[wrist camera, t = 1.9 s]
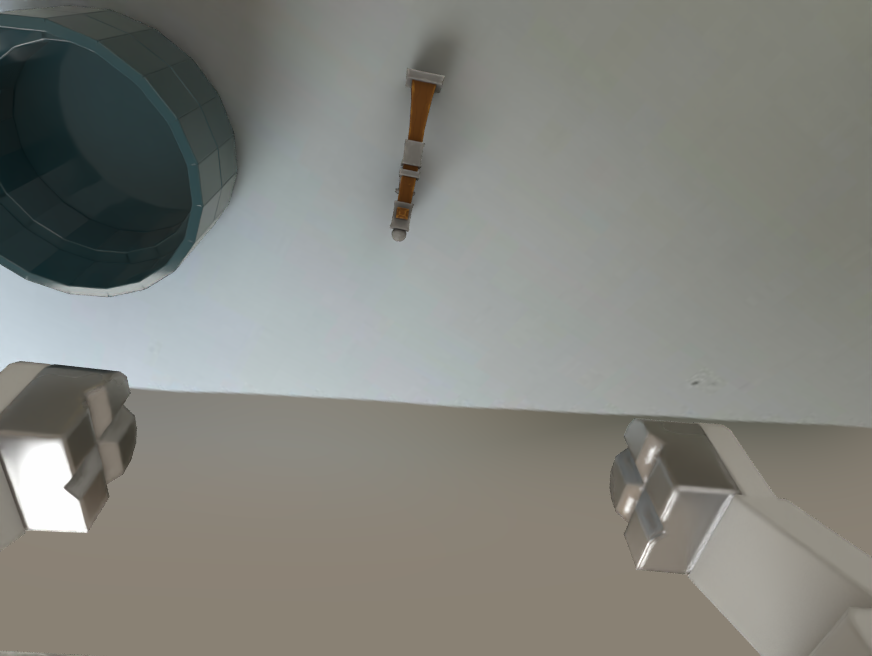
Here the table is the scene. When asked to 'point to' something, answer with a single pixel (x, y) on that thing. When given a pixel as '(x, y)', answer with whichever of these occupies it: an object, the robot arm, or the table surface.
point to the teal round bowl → (105, 151)
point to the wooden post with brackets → (413, 146)
